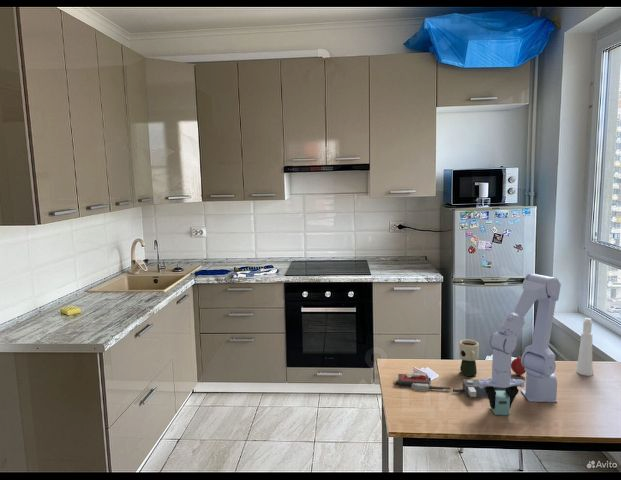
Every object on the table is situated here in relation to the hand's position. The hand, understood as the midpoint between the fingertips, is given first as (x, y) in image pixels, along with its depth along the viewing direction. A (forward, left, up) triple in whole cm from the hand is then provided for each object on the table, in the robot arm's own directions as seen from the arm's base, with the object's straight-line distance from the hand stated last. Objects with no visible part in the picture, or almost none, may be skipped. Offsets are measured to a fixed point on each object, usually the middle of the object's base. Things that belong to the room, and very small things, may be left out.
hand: (500, 407), depth 154 cm
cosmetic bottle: (-42, -31, -2) cm, 52 cm away
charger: (0, 0, -2) cm, 2 cm away
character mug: (+3, -29, -2) cm, 29 cm away
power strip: (+2, -13, -2) cm, 13 cm away
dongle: (+7, -9, 0) cm, 11 cm away
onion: (-16, -28, -2) cm, 32 cm away
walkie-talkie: (+23, -19, -2) cm, 29 cm away
